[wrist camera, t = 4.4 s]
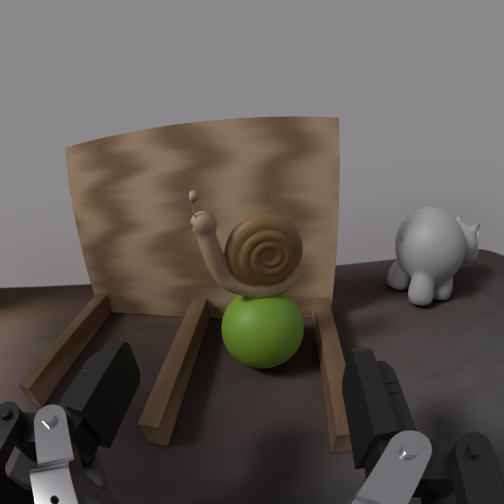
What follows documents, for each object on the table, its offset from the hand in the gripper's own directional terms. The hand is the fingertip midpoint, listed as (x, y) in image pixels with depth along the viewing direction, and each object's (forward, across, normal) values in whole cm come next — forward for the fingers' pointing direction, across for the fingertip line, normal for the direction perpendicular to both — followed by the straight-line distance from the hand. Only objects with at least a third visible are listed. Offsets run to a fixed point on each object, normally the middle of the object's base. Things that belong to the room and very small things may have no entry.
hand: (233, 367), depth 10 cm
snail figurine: (+8, 0, +7) cm, 11 cm away
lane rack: (+6, +5, +7) cm, 11 cm away
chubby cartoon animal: (+17, -19, +7) cm, 27 cm away
